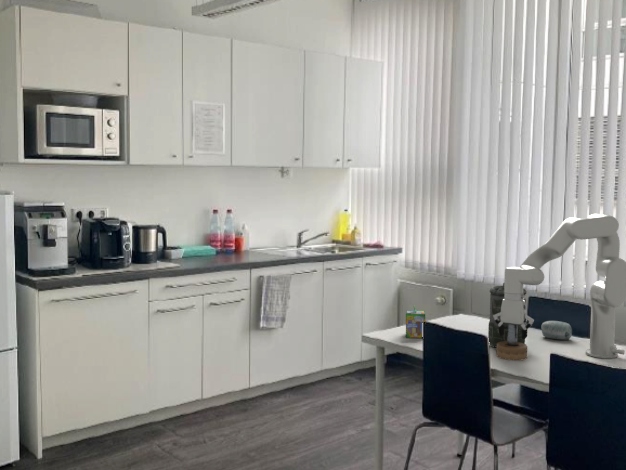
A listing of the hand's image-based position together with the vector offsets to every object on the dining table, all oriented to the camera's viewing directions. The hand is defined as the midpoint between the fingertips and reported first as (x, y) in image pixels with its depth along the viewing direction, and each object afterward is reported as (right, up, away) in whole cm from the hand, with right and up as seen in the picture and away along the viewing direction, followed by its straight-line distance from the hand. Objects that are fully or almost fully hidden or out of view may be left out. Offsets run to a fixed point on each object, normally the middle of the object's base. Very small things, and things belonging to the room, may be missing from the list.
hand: (512, 336), depth 295 cm
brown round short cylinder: (0, -8, +1) cm, 8 cm away
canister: (+2, -7, +19) cm, 20 cm away
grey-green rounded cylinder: (+29, -6, +32) cm, 44 cm away
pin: (0, -8, +1) cm, 8 cm away
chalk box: (-36, -5, +37) cm, 51 cm away
